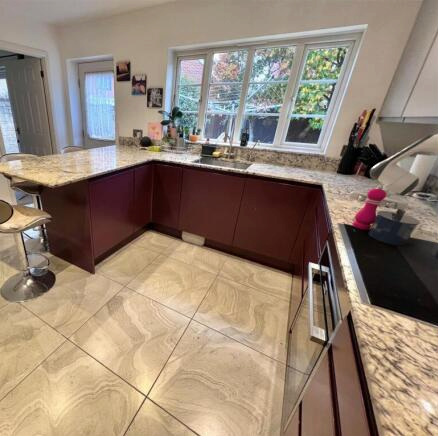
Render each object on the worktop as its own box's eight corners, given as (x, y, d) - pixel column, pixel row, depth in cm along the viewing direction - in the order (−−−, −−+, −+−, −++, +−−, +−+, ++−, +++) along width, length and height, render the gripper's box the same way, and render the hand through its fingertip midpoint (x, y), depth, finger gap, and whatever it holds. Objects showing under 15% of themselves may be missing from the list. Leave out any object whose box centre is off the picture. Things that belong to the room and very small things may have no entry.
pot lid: (428, 226, 89) (434, 216, 87) (398, 226, 88) (404, 216, 86) (394, 213, 100) (399, 204, 99) (368, 213, 99) (372, 204, 98)
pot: (413, 245, 93) (426, 224, 89) (387, 245, 92) (399, 224, 88) (385, 231, 104) (395, 212, 100) (361, 231, 103) (370, 212, 99)
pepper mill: (354, 228, 106) (374, 186, 97) (348, 222, 112) (367, 182, 103) (374, 231, 103) (396, 188, 95) (366, 225, 110) (387, 184, 101)
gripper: (356, 186, 120) (348, 190, 112) (412, 197, 106) (408, 203, 97) (351, 197, 122) (343, 202, 114) (405, 210, 108) (401, 216, 100)
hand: (374, 202), depth 106 cm, fingers open, 8 cm apart
